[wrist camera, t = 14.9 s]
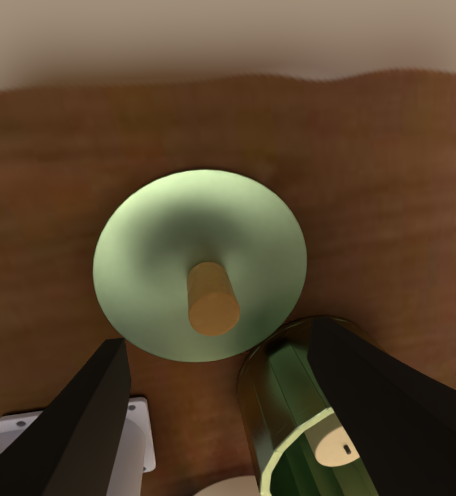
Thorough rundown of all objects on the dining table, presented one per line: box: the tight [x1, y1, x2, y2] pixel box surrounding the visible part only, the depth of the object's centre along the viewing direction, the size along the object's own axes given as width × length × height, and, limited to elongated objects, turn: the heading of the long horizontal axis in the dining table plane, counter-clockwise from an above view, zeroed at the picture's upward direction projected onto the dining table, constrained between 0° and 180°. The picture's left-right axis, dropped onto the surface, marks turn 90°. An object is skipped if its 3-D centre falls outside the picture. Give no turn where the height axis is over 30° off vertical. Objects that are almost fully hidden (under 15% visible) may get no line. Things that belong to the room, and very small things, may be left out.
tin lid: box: [93, 168, 307, 362], centre depth 14 cm, size 12×12×5 cm
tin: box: [237, 316, 388, 496], centre depth 18 cm, size 12×12×6 cm
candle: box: [304, 413, 360, 467], centre depth 18 cm, size 4×4×5 cm
